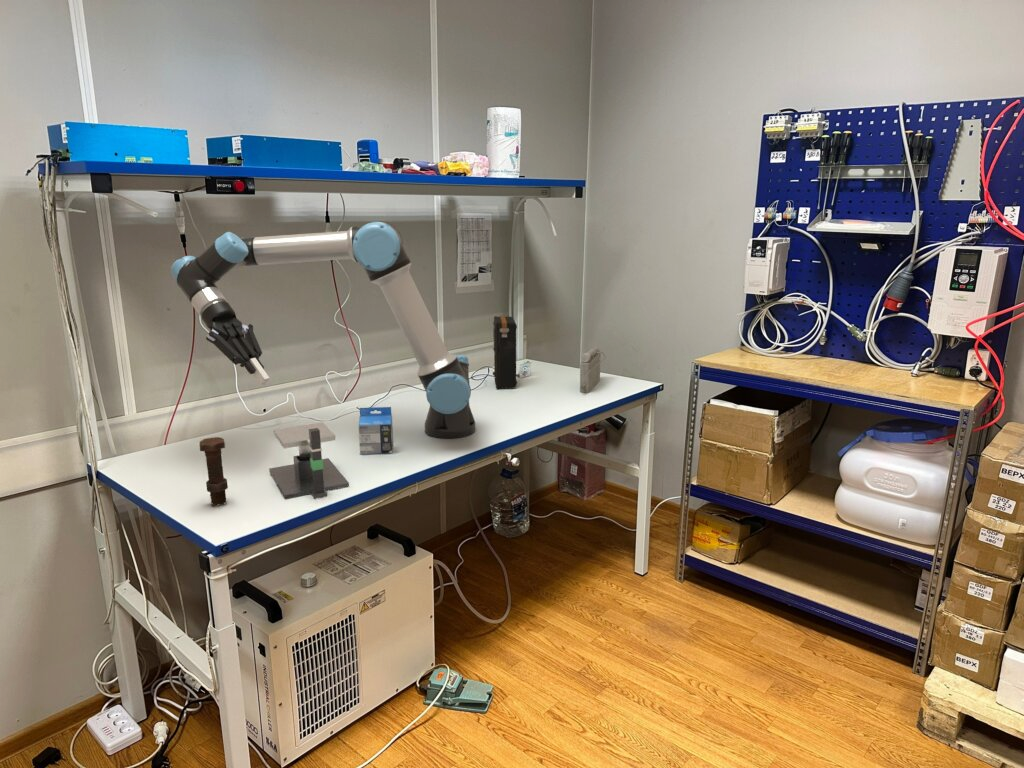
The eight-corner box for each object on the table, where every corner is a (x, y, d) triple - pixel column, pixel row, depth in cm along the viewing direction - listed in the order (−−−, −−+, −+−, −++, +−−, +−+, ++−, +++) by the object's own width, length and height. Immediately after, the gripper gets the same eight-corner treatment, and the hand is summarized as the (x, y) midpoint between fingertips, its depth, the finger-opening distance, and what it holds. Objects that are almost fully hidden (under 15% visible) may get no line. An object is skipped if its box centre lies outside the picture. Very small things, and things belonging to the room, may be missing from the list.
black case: (492, 379, 267) (491, 315, 260) (514, 379, 267) (514, 314, 261) (493, 390, 252) (493, 322, 245) (517, 389, 252) (517, 321, 246)
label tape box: (359, 455, 187) (357, 411, 184) (361, 449, 191) (359, 407, 188) (392, 454, 188) (390, 410, 185) (393, 449, 192) (391, 406, 188)
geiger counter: (590, 343, 263) (573, 357, 240) (606, 344, 261) (591, 358, 238) (589, 379, 267) (573, 395, 244) (606, 380, 264) (590, 397, 242)
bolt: (206, 500, 158) (198, 438, 155) (230, 496, 160) (223, 435, 157) (207, 510, 153) (199, 446, 149) (231, 506, 155) (224, 443, 152)
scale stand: (328, 461, 182) (324, 403, 178) (352, 490, 163) (348, 426, 159) (269, 472, 175) (263, 411, 171) (287, 504, 156) (281, 436, 152)
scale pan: (324, 447, 177) (322, 422, 176) (341, 467, 164) (339, 440, 162) (276, 455, 172) (273, 429, 170) (289, 476, 158) (287, 448, 157)
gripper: (230, 315, 183) (279, 385, 178) (185, 322, 172) (236, 396, 168) (241, 296, 179) (292, 367, 174) (196, 303, 168) (249, 378, 164)
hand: (264, 381), depth 171 cm, fingers closed
